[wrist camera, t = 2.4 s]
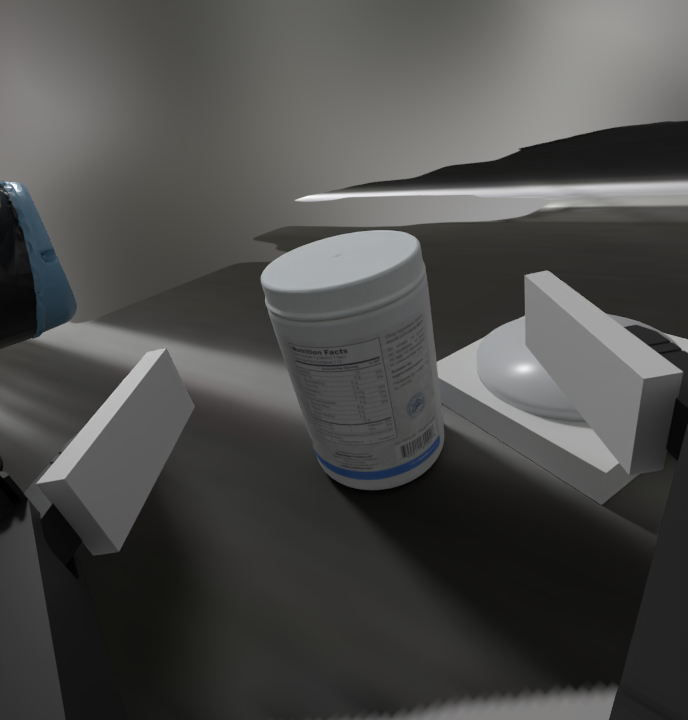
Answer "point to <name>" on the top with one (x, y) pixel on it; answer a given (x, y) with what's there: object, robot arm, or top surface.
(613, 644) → the top surface
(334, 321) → the supplement tub
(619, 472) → the scale
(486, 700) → the top surface
